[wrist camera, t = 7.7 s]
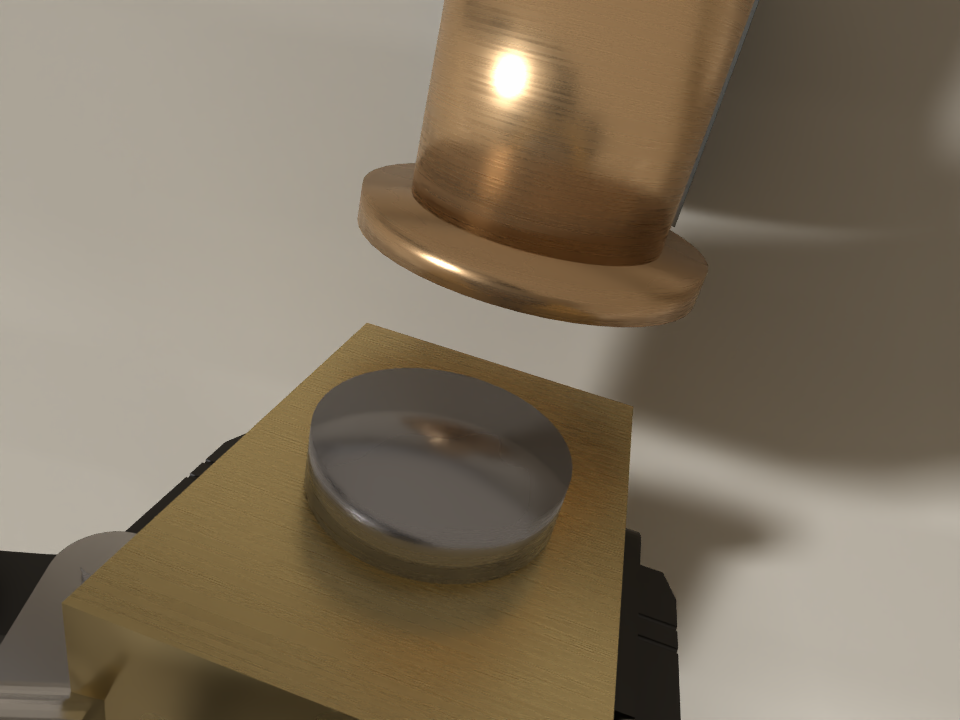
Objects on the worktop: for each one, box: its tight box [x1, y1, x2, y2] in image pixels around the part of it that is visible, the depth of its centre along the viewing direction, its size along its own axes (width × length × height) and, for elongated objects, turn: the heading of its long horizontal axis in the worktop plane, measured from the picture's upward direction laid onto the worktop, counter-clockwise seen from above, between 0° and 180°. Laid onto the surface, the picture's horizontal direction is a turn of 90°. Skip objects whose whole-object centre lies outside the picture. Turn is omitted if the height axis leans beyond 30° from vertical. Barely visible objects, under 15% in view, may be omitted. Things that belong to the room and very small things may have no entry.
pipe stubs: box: [358, 0, 759, 327], centre depth 14 cm, size 6×20×7 cm, turn 167°
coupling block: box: [62, 323, 633, 720], centre depth 10 cm, size 7×5×7 cm
